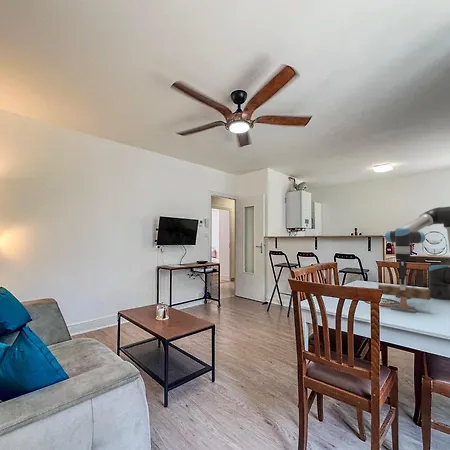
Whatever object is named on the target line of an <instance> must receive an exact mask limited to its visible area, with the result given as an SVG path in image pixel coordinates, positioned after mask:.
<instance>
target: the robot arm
mask: <svg viewBox="0 0 450 450" xmlns="http://www.w3.org/2000/svg"><path fill="white" fill-rule="evenodd" d="M433 225H443V228H444V229H446V231H447V232H446V233H447V240H448V250H449V251H450V206H442V207H441V206H440V207H435V208H431V209H429V210H427V211H425V212H423V213H421V214H419V216H418V217H416V218H415V219H413V220H412V221H410V222H408V223H406V224H404V225H402V226H400V227H397V228H395V230H389V231H387V232H385V234H384V239H385V241H386V242H388V243H391V244H392V243H394V244H395V247H394V248H393V249H394V250H395V260H397V261H399V260H400V262H398V267H399V276H398V279H399V287H400V290H406V287H407V276H408V273H407V266H408V264H407V261H411V254H410V253H411V244H417V245H418V244H422V243H424V242H425V240H426V235H425V233H424V232H422V231H420V230H422V229H424V228H426V227H430V226H433ZM427 289H428V290H430V299H431V298H432V299H437V300H450V264H437V265H430V266H429V267H428V287H427Z"/></svg>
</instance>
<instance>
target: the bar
mask: <svg viewBox="0 0 450 450" xmlns="http://www.w3.org/2000/svg"><path fill="white" fill-rule="evenodd" d="M377 287H378V288H377V290H378V289H382V290H383V294H382V295H386V296H395V297H396V296H401V297H410V299H418V300H426V301H427V300H428V301H430V300H431V297H430V290H428V288H427V289H426V288H425V289H424V288H417V287H408V286H406V290H400V285H389V284H378V286H377Z"/></svg>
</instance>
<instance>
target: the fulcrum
mask: <svg viewBox="0 0 450 450" xmlns="http://www.w3.org/2000/svg"><path fill="white" fill-rule="evenodd" d="M399 302H400V303H398V304H397V303H392V304H391V308H390V309H391V311H397V312H403V313H410V314H416V306H412V305H409V304H407V299H406V297H401V296H400V298H399Z"/></svg>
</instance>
